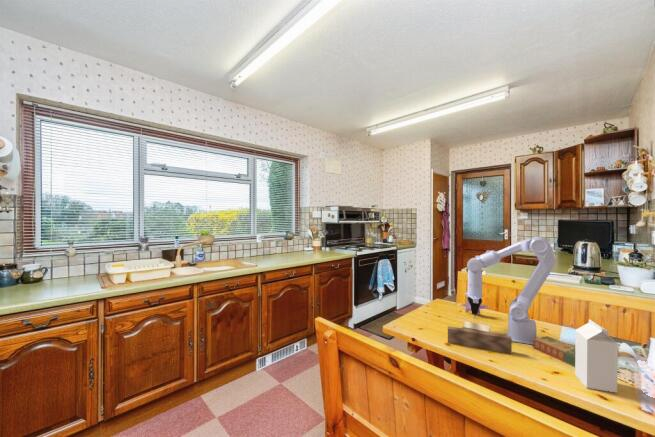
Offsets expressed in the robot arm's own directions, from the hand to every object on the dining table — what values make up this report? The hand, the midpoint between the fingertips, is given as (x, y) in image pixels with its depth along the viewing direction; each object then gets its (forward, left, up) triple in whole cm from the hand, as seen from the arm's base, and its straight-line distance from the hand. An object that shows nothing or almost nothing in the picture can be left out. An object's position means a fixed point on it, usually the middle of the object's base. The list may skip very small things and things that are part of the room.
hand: (474, 314), depth 123 cm
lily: (-1, -19, -8) cm, 21 cm away
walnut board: (0, +17, -7) cm, 19 cm away
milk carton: (-31, +29, -7) cm, 43 cm away
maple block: (0, +8, -7) cm, 11 cm away
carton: (-28, +13, -8) cm, 32 cm away
